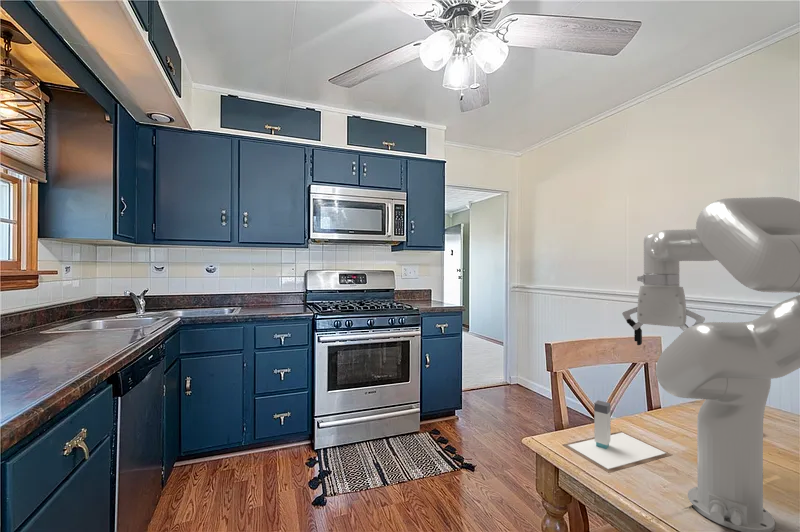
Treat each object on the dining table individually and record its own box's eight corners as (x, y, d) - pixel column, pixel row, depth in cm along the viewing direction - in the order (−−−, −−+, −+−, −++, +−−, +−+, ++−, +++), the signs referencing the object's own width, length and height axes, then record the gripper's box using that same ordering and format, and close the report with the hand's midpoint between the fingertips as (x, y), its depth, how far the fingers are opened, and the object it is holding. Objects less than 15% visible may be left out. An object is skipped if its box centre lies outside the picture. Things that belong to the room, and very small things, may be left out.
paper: (622, 433, 103) (622, 432, 103) (666, 453, 92) (666, 452, 92) (567, 445, 96) (567, 445, 96) (608, 469, 85) (608, 468, 85)
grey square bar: (607, 450, 93) (607, 406, 93) (594, 446, 95) (594, 403, 95) (610, 445, 95) (610, 403, 95) (598, 442, 97) (597, 400, 97)
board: (621, 433, 104) (621, 431, 104) (673, 458, 91) (673, 454, 91) (561, 447, 96) (561, 444, 96) (608, 476, 83) (608, 472, 83)
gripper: (620, 280, 97) (620, 344, 97) (704, 282, 86) (704, 355, 86) (625, 279, 103) (625, 340, 103) (705, 281, 91) (705, 349, 91)
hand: (661, 347), depth 94 cm, fingers open, 9 cm apart
